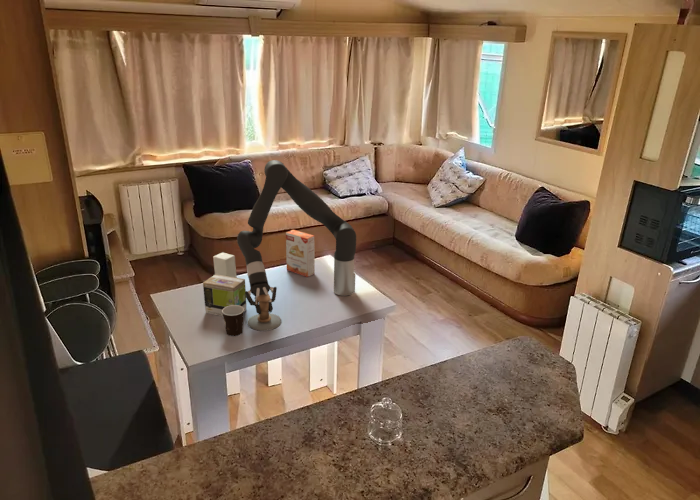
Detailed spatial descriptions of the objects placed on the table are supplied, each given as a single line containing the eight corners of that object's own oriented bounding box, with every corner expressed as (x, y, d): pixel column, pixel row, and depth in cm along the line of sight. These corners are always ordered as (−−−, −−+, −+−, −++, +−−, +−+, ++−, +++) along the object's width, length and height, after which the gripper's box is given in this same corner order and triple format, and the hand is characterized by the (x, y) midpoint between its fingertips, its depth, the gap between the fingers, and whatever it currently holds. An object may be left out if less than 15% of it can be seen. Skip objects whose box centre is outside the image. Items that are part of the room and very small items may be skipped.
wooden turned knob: (269, 314, 229) (268, 293, 225) (272, 321, 224) (272, 299, 221) (256, 317, 227) (255, 295, 223) (259, 323, 222) (258, 301, 218)
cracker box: (286, 270, 275) (285, 232, 267) (293, 266, 280) (293, 228, 272) (307, 277, 268) (307, 238, 260) (315, 273, 272) (315, 234, 265)
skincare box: (237, 285, 258) (235, 255, 252) (227, 290, 252) (225, 260, 247) (224, 281, 262) (222, 251, 256) (214, 286, 257) (212, 255, 251)
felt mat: (276, 311, 235) (276, 310, 235) (285, 327, 223) (285, 326, 223) (244, 317, 229) (244, 316, 229) (252, 333, 218) (252, 332, 217)
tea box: (247, 309, 236) (245, 278, 231) (235, 319, 227) (233, 288, 222) (217, 303, 241) (215, 273, 235) (204, 313, 232) (202, 282, 226)
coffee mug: (226, 326, 222) (225, 304, 218) (247, 327, 222) (246, 305, 218) (219, 341, 211) (217, 318, 208) (241, 342, 211) (239, 319, 207)
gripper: (241, 273, 222) (249, 313, 217) (274, 268, 228) (283, 307, 222) (239, 280, 229) (247, 318, 223) (271, 275, 234) (280, 312, 228)
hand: (265, 312), depth 223 cm, fingers closed on wooden turned knob, 4 cm apart
